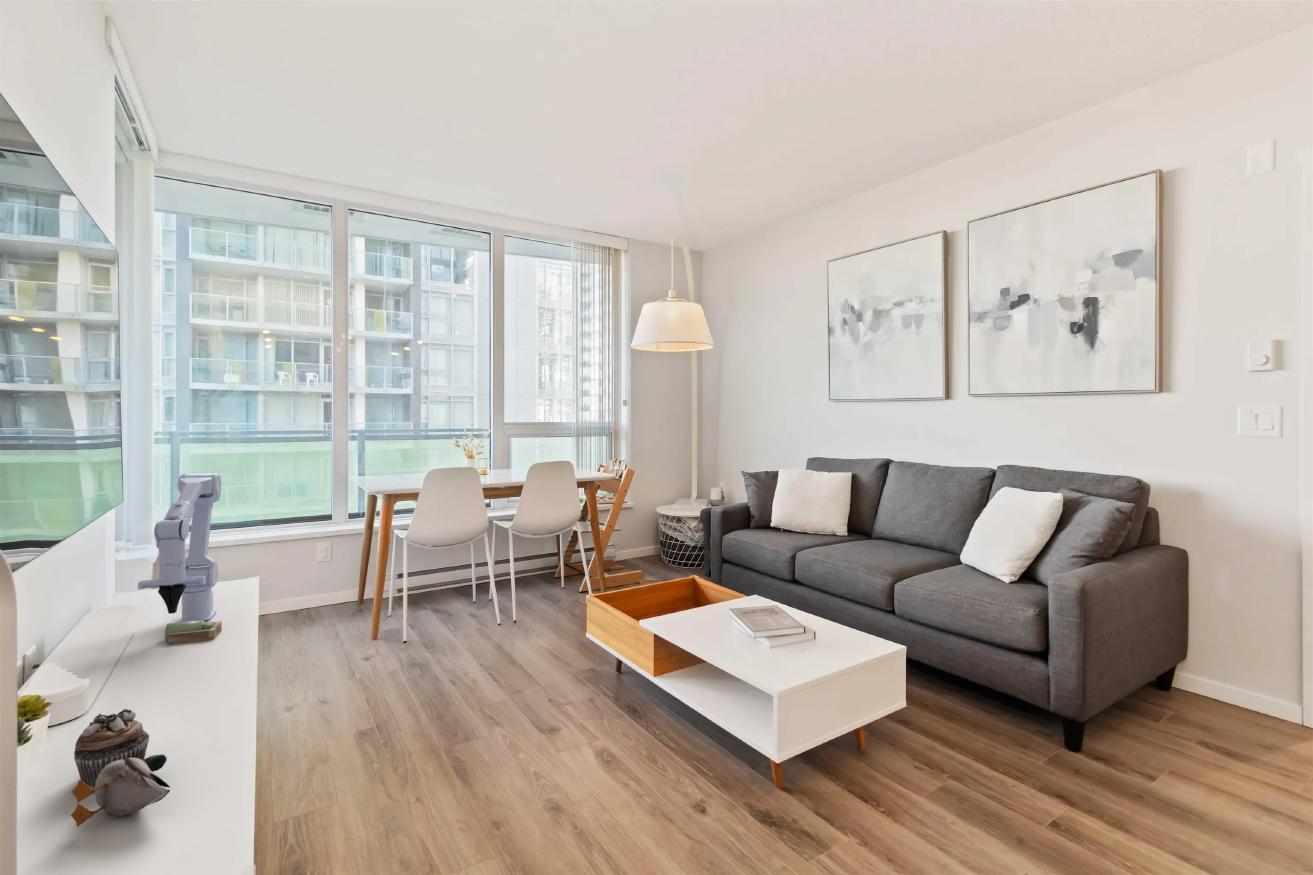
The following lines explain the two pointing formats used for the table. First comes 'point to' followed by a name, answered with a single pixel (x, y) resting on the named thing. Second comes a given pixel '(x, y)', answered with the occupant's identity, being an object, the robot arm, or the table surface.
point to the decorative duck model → (123, 787)
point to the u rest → (196, 634)
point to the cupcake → (109, 744)
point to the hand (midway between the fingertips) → (172, 612)
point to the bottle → (186, 627)
